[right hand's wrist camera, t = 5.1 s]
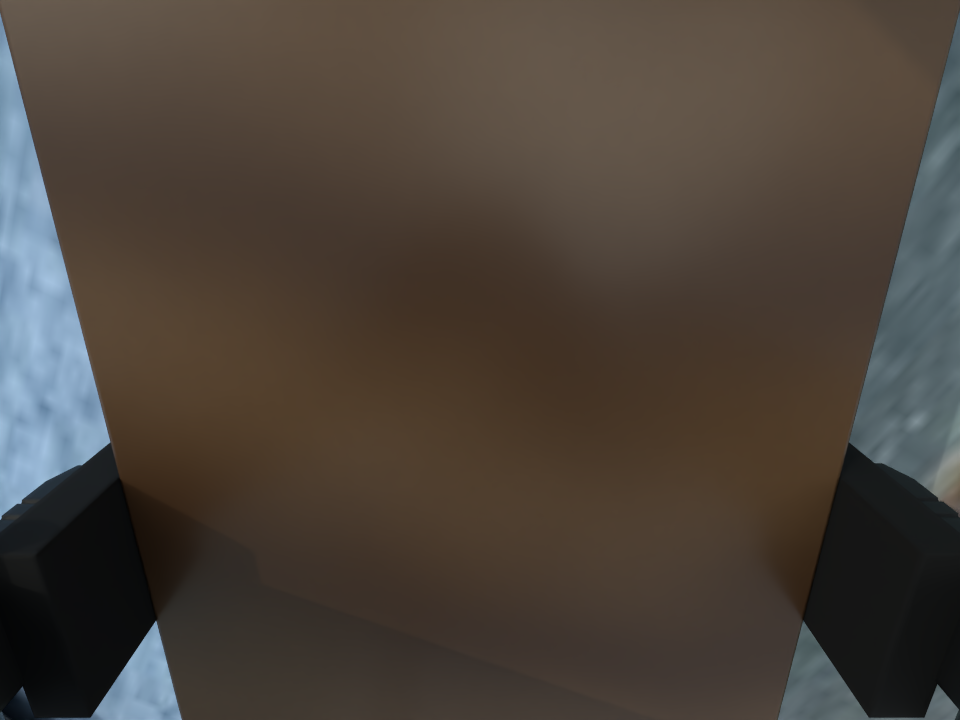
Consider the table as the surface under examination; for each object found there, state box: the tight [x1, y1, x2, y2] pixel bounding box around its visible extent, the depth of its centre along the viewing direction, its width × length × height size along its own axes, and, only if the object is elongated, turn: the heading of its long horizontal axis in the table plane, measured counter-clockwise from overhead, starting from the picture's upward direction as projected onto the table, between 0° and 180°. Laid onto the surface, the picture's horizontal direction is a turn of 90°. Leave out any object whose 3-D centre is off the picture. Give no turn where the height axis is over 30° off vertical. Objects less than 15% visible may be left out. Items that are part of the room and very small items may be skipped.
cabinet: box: [0, 0, 960, 720], centre depth 11 cm, size 18×11×8 cm, turn 0°
